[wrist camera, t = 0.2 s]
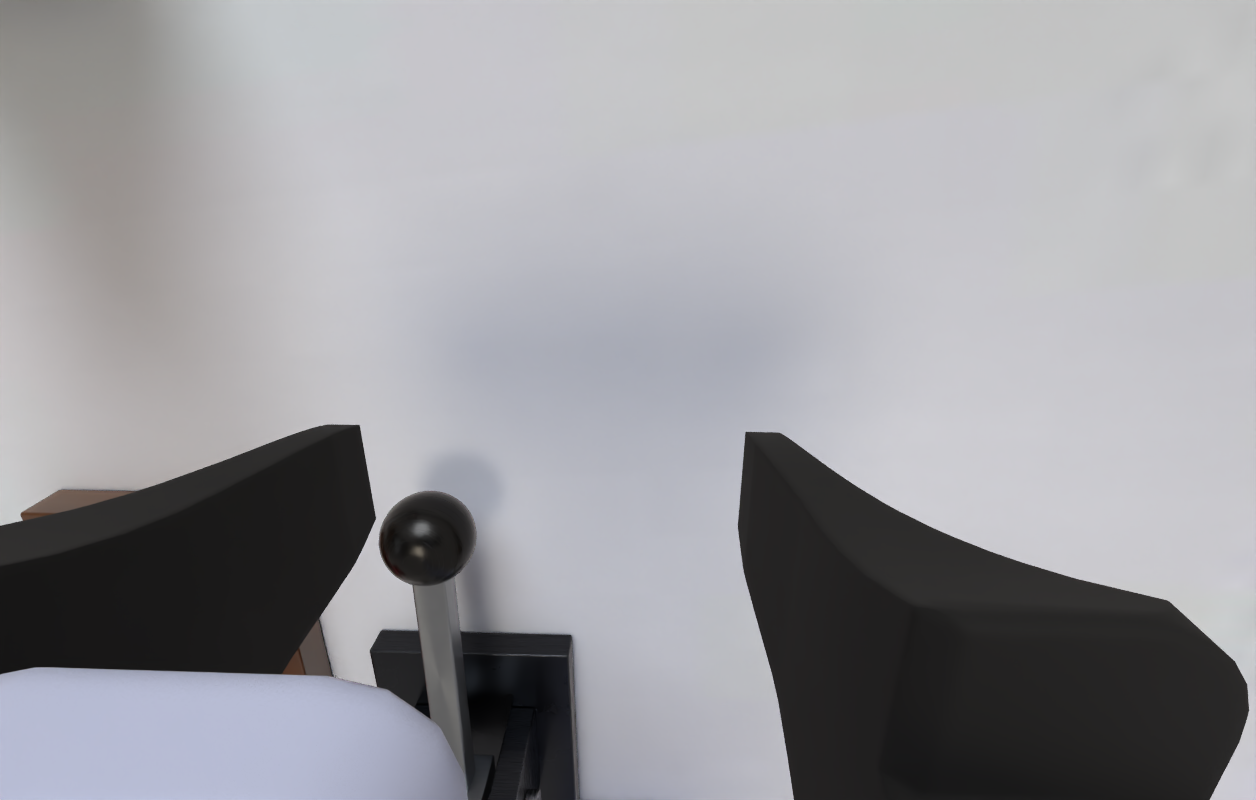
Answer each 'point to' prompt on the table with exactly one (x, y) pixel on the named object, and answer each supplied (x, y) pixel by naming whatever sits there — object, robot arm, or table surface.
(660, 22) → the table surface
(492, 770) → the lever
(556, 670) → the bracket
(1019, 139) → the table surface
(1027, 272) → the table surface
